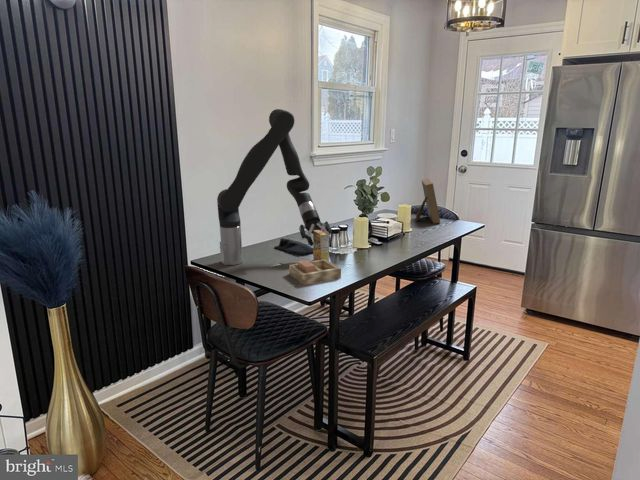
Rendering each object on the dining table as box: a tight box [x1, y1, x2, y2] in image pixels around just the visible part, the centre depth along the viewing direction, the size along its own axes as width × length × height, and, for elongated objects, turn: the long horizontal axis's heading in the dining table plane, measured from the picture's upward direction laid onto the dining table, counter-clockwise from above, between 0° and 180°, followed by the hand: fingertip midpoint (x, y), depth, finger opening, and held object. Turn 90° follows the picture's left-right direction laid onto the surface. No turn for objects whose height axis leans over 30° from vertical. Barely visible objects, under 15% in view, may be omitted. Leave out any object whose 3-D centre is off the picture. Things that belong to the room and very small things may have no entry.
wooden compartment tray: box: [288, 259, 342, 286], centre depth 181 cm, size 16×14×6 cm
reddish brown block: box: [297, 259, 315, 273], centre depth 179 cm, size 4×8×6 cm, turn 27°
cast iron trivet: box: [274, 237, 313, 256], centre depth 223 cm, size 15×22×5 cm
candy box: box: [312, 229, 330, 262], centre depth 198 cm, size 9×4×15 cm, turn 25°
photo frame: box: [414, 178, 441, 225], centre depth 282 cm, size 15×22×25 cm
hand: (320, 243), depth 198 cm, fingers open, 8 cm apart
